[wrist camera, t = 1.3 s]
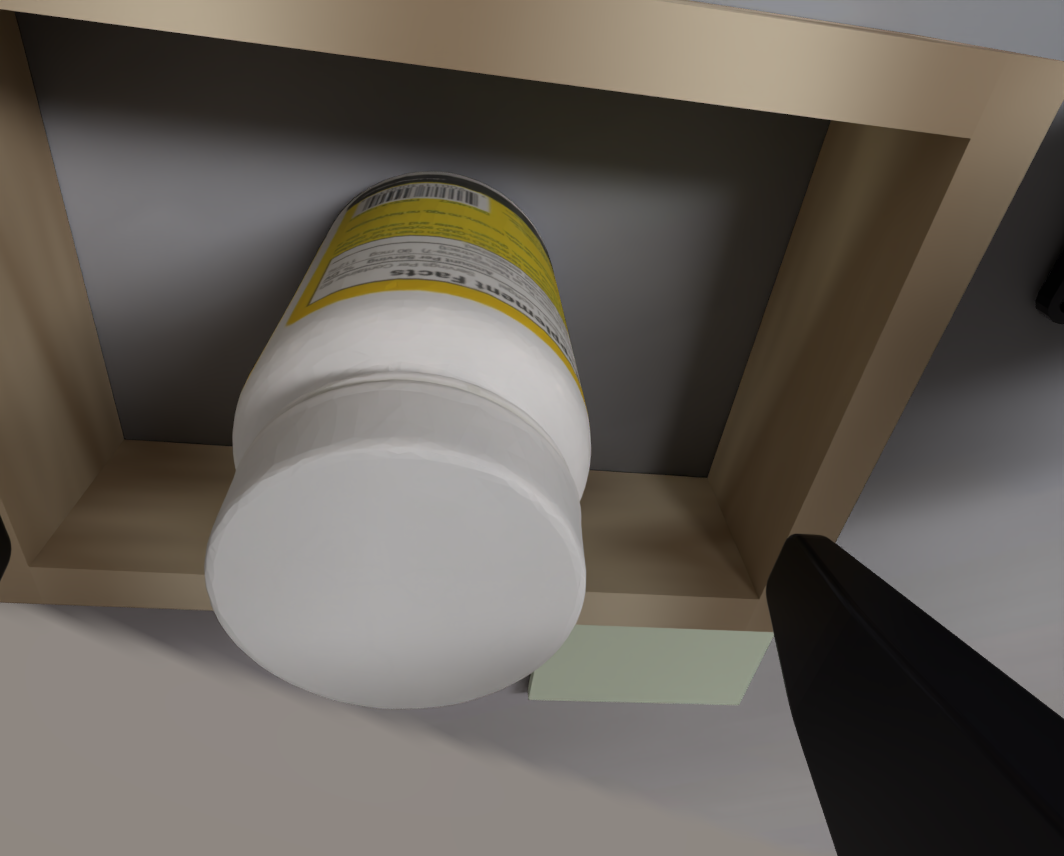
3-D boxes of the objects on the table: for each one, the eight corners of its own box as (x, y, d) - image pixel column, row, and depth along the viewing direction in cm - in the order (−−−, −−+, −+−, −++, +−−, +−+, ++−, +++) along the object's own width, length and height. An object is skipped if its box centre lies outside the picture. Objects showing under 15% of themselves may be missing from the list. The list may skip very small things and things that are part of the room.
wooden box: (916, 34, 12) (1081, 64, 9) (733, 509, 18) (788, 632, 15) (-90, -118, 10) (-371, -155, 7) (88, 470, 16) (-14, 601, 13)
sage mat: (809, 542, 19) (814, 552, 19) (735, 694, 23) (738, 705, 22) (560, 528, 18) (561, 539, 18) (527, 688, 22) (528, 699, 22)
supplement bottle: (444, 421, 16) (414, 774, 9) (272, 285, 14) (61, 612, 7) (601, 285, 14) (712, 594, 7) (432, 107, 12) (363, 305, 5)
